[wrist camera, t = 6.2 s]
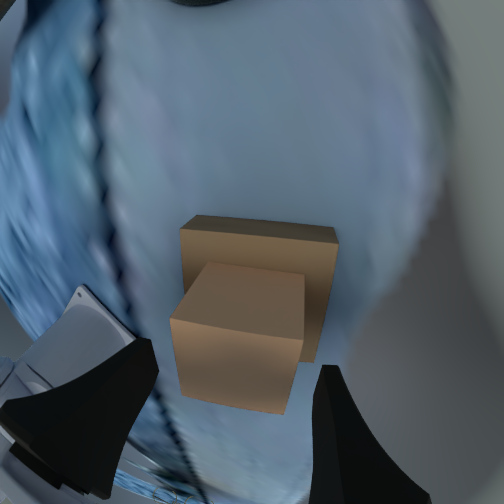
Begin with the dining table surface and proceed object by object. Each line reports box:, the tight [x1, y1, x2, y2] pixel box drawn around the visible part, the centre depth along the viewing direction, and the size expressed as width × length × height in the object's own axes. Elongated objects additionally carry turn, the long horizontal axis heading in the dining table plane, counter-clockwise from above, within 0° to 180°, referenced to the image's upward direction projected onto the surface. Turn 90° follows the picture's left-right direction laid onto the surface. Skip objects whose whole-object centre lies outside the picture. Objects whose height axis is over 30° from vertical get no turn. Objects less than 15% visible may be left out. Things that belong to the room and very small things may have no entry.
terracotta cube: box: [170, 262, 305, 415], centre depth 13 cm, size 5×5×5 cm
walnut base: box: [180, 215, 339, 363], centre depth 17 cm, size 8×8×3 cm
